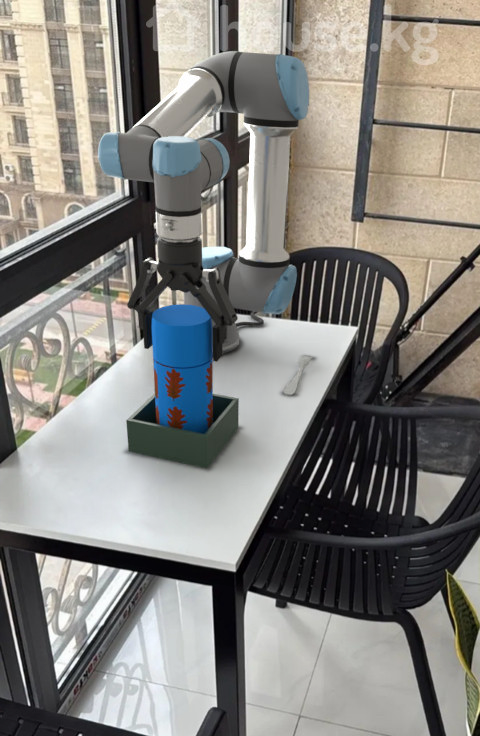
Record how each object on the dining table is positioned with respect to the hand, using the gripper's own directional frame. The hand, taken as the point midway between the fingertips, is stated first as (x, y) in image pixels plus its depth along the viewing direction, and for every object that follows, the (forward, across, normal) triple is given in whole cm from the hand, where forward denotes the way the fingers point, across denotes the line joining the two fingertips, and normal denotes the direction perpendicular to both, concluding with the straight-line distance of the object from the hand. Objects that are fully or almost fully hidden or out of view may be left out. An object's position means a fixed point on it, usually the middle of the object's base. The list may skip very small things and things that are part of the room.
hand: (183, 352), depth 138 cm
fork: (+19, +12, +36) cm, 42 cm away
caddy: (+18, 0, 0) cm, 19 cm away
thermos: (+18, 0, 0) cm, 18 cm away
